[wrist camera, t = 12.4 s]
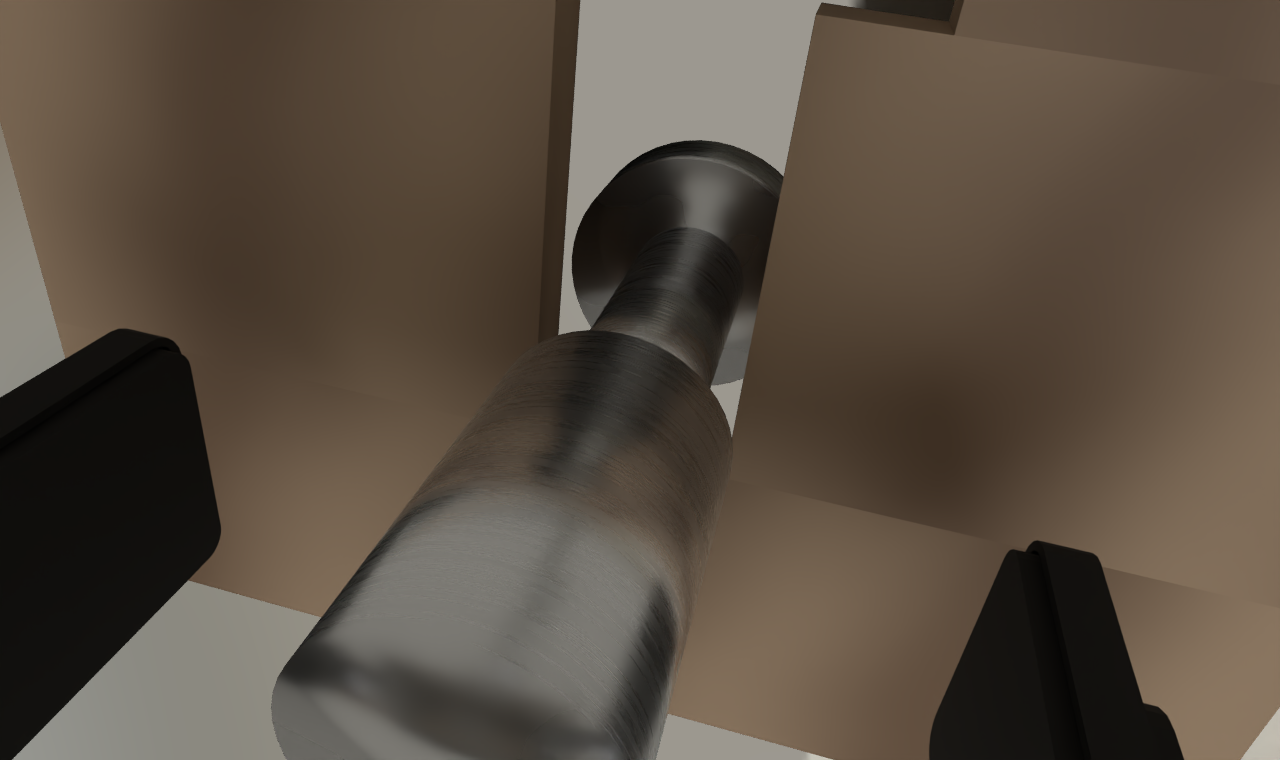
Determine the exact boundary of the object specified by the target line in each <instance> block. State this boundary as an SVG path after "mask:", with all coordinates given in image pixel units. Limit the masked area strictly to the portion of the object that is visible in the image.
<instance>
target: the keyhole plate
mask: <svg viewBox="0 0 1280 760" xmlns="http://www.w3.org/2000/svg"><path fill="white" fill-rule="evenodd" d="M579 10H580V0H0V122H1V126H2V130H3V133H4V137H5V141H6V144H7V148H8V152H9V155H10V159H11V163H12V166H13V170H14V173H15V177H16V180H17V184H18V188H19V192H20V195H21V199H22V202H23V206H24V210H25V213H26V217H27V221H28V224H29V228H30V231H31V235H32V238H33V242H34V246H35V250H36V253H37V257H38V260H39V264H40V268H41V271H42V275H43V278H44V282H45V286H46V289H47V293H48V297H49V300H50V304H51V307H52V311H53V315H54V319H55V322H56V326H57V329H58V333H59V337H60V340H61V343H62V348H63V351H64V354H65V358H67V357H69V356H71V355H72V354H74V353H76V352H77V351H79V350H81V349H82V348H84V347H86V346H87V345H89V344H91V343H92V342H94V341H96V340H97V339H99V338H101V337H102V336H104V335H106V334H107V333H109V332H111V331H114V330H116V329H119V328H127V329H132V330H136V331H140V332H145V333H149V334H153V335H157V336H162V337H166V338H169V339H171V340H173V341H174V342H175V343H176V344H177V345H178V347H179V348H180V351H181V354H182V355H184V356H185V357H186V358H187V359H188V360H189V363H190V366H191V370H192V376H193V381H194V386H195V391H196V397H197V402H198V407H199V412H200V418H201V423H202V428H203V434H204V439H205V444H206V449H207V455H208V460H209V465H210V470H211V476H212V481H213V486H214V491H215V497H216V502H217V507H218V513H219V518H220V523H221V536H220V540H219V543H218V546H217V548H216V550H215V552H214V553H213V555H212V556H211V557H210V558H209V559H208V560H207V561H206V562H205V563H204V564H203V565H202V566H201V568H200V569H199V570H198V571H197V572H196V573H195V574H194V575H193V576H192V577H191V578H190V579H189V581H193V582H196V583H200V584H204V585H207V586H211V587H215V588H218V589H222V590H225V591H229V592H232V593H236V594H240V595H243V596H246V597H250V598H254V599H257V600H261V601H265V602H268V603H272V604H275V605H279V606H283V607H287V608H290V609H293V610H297V611H301V612H304V613H308V614H312V615H315V616H319V617H322V616H323V615H324V613H325V612H326V611H327V609H328V608H329V607H330V606H331V604H332V603H333V602H334V600H335V599H336V598H337V596H338V595H339V594H340V592H341V591H342V590H343V588H344V587H345V586H346V584H347V583H348V582H349V580H350V579H351V578H352V576H353V575H354V574H355V572H356V571H357V570H358V568H359V567H360V566H361V564H362V563H363V562H364V561H365V559H366V558H367V557H368V555H369V554H370V553H371V551H372V550H373V549H374V547H375V546H376V545H377V543H378V542H379V541H380V539H381V538H382V537H383V535H384V534H385V533H386V531H387V530H388V529H389V527H390V526H391V525H392V523H393V522H394V521H395V519H396V518H397V517H398V515H399V514H400V513H401V512H402V510H403V509H404V508H405V506H406V505H407V504H408V502H409V501H410V500H411V498H412V497H413V496H414V494H415V493H416V492H417V490H418V489H419V488H420V486H421V485H422V484H423V482H424V481H425V480H426V478H427V477H428V476H429V474H430V473H431V472H432V470H433V469H434V468H435V466H436V465H437V464H438V463H439V461H440V460H441V459H442V457H443V456H444V455H445V453H446V452H447V451H448V449H449V448H450V447H451V445H452V444H453V443H454V441H455V440H456V439H457V437H458V436H459V435H460V433H461V432H462V431H463V429H464V428H465V427H466V425H467V424H468V423H469V421H470V420H471V419H472V418H473V416H474V415H475V414H476V412H477V411H478V410H479V408H480V407H481V406H482V404H483V403H484V402H485V400H486V399H487V398H488V396H489V395H490V394H491V392H492V391H493V390H494V388H495V387H496V386H497V384H498V383H499V382H500V380H501V379H502V378H503V376H504V375H505V374H506V372H507V371H508V370H509V369H510V367H511V366H512V365H513V364H514V363H515V362H516V360H517V359H518V358H519V357H520V356H521V355H523V354H524V353H525V352H526V351H528V350H529V349H530V348H532V347H533V346H535V345H537V344H539V343H541V342H542V341H544V340H547V339H549V338H552V337H555V336H557V335H558V331H559V316H560V301H561V285H562V269H563V255H564V240H565V224H566V209H567V193H568V177H569V162H570V148H571V133H572V116H573V102H574V87H575V70H576V56H577V41H578V25H579ZM732 444H733V460H732V468H731V473H730V476H729V480H728V484H727V488H726V492H725V496H724V499H723V503H722V507H721V511H720V515H719V519H718V522H717V526H716V530H715V534H714V538H713V542H712V545H711V549H710V553H709V557H708V561H707V565H706V568H705V572H704V576H703V580H702V584H701V588H700V591H699V595H698V599H697V603H696V607H695V611H694V614H693V618H692V622H691V626H690V630H689V634H688V637H687V641H686V645H685V649H684V653H683V657H682V660H681V664H680V668H679V672H678V676H677V680H676V683H675V687H674V691H673V695H672V699H671V703H670V706H669V710H668V714H671V715H675V716H679V717H682V718H686V719H689V720H693V721H697V722H701V723H704V724H707V725H711V726H715V727H718V728H722V729H726V730H729V731H733V732H736V733H740V734H743V735H747V736H751V737H754V738H758V739H762V740H765V741H769V742H772V743H776V744H779V745H783V746H787V747H790V748H794V749H797V750H801V751H805V752H808V753H812V754H815V755H819V756H823V757H826V758H830V759H833V760H929V743H930V734H931V729H932V725H933V721H934V718H935V715H936V713H937V711H938V708H939V706H940V704H941V702H942V699H943V697H944V695H945V692H946V690H947V688H948V686H949V683H950V681H951V679H952V676H953V674H954V672H955V670H956V667H957V665H958V663H959V660H960V658H961V656H962V653H963V651H964V649H965V647H966V644H967V642H968V640H969V637H970V635H971V633H972V631H973V628H974V626H975V624H976V621H977V619H978V617H979V615H980V612H981V610H982V608H983V605H984V603H985V601H986V599H987V596H988V594H989V592H990V589H991V587H992V585H993V582H994V580H995V578H996V576H997V573H998V571H999V569H1000V566H1001V564H1002V562H1003V560H1004V558H1005V556H1006V554H1007V553H1008V552H1009V550H1012V549H1015V550H1019V551H1023V552H1025V551H1026V550H1027V548H1028V546H1029V545H1030V544H1031V543H1032V542H1033V541H1036V540H1039V541H1043V542H1048V543H1052V544H1056V545H1061V546H1065V547H1069V548H1074V549H1078V550H1082V551H1086V552H1091V553H1094V554H1095V555H1096V556H1098V558H1099V561H1100V563H1101V565H1102V569H1103V572H1104V575H1105V579H1106V582H1107V585H1108V588H1109V592H1110V595H1111V598H1112V602H1113V605H1114V608H1115V611H1116V615H1117V618H1118V621H1119V625H1120V628H1121V631H1122V634H1123V638H1124V641H1125V644H1126V648H1127V651H1128V654H1129V658H1130V661H1131V664H1132V667H1133V671H1134V674H1135V677H1136V681H1137V684H1138V687H1139V690H1140V694H1141V697H1142V700H1143V703H1146V704H1150V705H1154V706H1158V707H1159V708H1160V709H1161V710H1162V711H1163V712H1164V713H1165V714H1166V715H1167V716H1168V718H1169V720H1170V722H1171V724H1172V726H1173V728H1174V730H1175V733H1176V736H1177V739H1178V742H1179V745H1180V748H1181V751H1182V754H1183V757H1184V760H1240V759H1241V758H1242V757H1243V755H1244V754H1245V753H1246V751H1247V750H1248V749H1249V747H1250V746H1251V745H1252V743H1253V742H1254V741H1255V739H1256V738H1257V737H1258V735H1259V734H1260V733H1261V731H1262V730H1263V729H1264V727H1265V726H1266V725H1267V723H1268V722H1269V721H1270V719H1271V718H1272V717H1273V715H1274V714H1275V713H1276V711H1277V710H1278V709H1279V707H1280V0H955V2H954V5H953V9H952V13H951V16H950V20H949V22H948V21H941V20H934V19H928V18H921V17H914V16H908V15H901V14H894V13H887V12H881V11H874V10H867V9H861V8H854V7H847V6H841V5H834V4H827V3H821V5H820V7H819V9H818V11H817V13H816V16H815V21H814V26H813V32H812V36H811V41H810V46H809V52H808V56H807V61H806V66H805V72H804V77H803V82H802V87H801V92H800V97H799V102H798V107H797V112H796V117H795V122H794V128H793V132H792V137H791V142H790V147H789V152H788V157H787V163H786V168H785V173H784V178H783V183H782V188H781V193H780V198H779V203H778V208H777V213H776V218H775V223H774V228H773V233H772V238H771V243H770V248H769V253H768V258H767V263H766V268H765V274H764V279H763V284H762V289H761V294H760V299H759V304H758V309H757V314H756V319H755V324H754V329H753V334H752V339H751V344H750V349H749V354H748V359H747V364H746V369H745V375H744V380H743V385H742V390H741V395H740V400H739V405H738V411H737V415H736V420H735V425H734V430H733V435H732Z"/></svg>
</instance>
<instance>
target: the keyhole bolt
mask: <svg viewBox="0 0 1280 760" xmlns="http://www.w3.org/2000/svg"><path fill="white" fill-rule="evenodd" d="M783 178H784V177H783V176H782V175H781V174H780V173H779V172H778V171H777V170H776V169H775V168H773V167H772V166H771V165H769V164H768V163H767V162H765V161H764V160H763V159H761V158H759V157H757V156H755V155H753V154H752V153H750V152H748V151H745V150H742V149H740V148H737V147H735V146H731V145H728V144H723V143H719V142H712V141H702V140H697V141H682V142H675V143H670V144H667V145H663V146H660V147H657V148H655V149H652V150H650V151H648V152H646V153H644V154H642V155H640V156H639V157H637V158H636V159H634V160H633V161H631V162H630V163H629V164H627V165H626V166H625V167H624V168H623V169H622V170H620V171H619V172H618V174H617V175H616V176H615V177H614V178H613V179H612V180H611V182H610V183H609V184H608V185H607V186H606V187H605V188H604V189H603V190H602V192H601V193H600V194H599V195H598V196H597V197H596V199H595V200H594V201H593V202H592V203H591V205H590V207H589V208H588V210H587V211H586V213H585V214H584V216H583V218H582V221H581V223H580V225H579V227H578V230H577V234H576V237H575V241H574V246H573V254H572V275H573V283H574V287H575V291H576V295H577V299H578V302H579V304H580V307H581V309H582V311H583V314H584V315H585V317H586V319H587V321H588V322H589V324H590V326H591V327H592V328H591V329H590V330H587V331H576V332H570V333H566V334H561V335H557V336H555V337H552V338H549V339H547V340H544V341H542V342H541V343H539V344H537V345H535V346H533V347H532V348H530V349H529V350H528V351H526V352H525V353H524V354H523V355H521V356H520V357H519V358H518V359H517V360H516V362H515V363H514V364H513V365H512V366H511V367H510V369H509V370H508V371H507V372H506V374H505V375H504V376H503V378H502V379H501V380H500V382H499V383H498V384H497V386H496V387H495V388H494V390H493V391H492V392H491V394H490V395H489V396H488V398H487V399H486V400H485V402H484V403H483V404H482V406H481V407H480V408H479V410H478V411H477V412H476V414H475V415H474V416H473V418H472V419H471V420H470V421H469V423H468V424H467V425H466V427H465V428H464V429H463V431H462V432H461V433H460V435H459V436H458V437H457V439H456V440H455V441H454V443H453V444H452V445H451V447H450V448H449V449H448V451H447V452H446V453H445V455H444V456H443V457H442V459H441V460H440V461H439V463H438V464H437V465H436V466H435V468H434V469H433V470H432V472H431V473H430V474H429V476H428V477H427V478H426V480H425V481H424V482H423V484H422V485H421V486H420V488H419V489H418V490H417V492H416V493H415V494H414V496H413V497H412V498H411V500H410V501H409V502H408V504H407V505H406V506H405V508H404V509H403V510H402V512H401V513H400V514H399V515H398V517H397V518H396V519H395V521H394V522H393V523H392V525H391V526H390V527H389V529H388V530H387V531H386V533H385V534H384V535H383V537H382V538H381V539H380V541H379V542H378V543H377V545H376V546H375V547H374V549H373V550H372V551H371V553H370V554H369V555H368V557H367V558H366V559H365V561H364V562H363V563H362V564H361V566H360V567H359V568H358V570H357V571H356V572H355V574H354V575H353V576H352V578H351V579H350V580H349V582H348V583H347V584H346V586H345V587H344V588H343V590H342V591H341V592H340V594H339V595H338V596H337V598H336V599H335V600H334V602H333V603H332V604H331V606H330V607H329V608H328V609H327V611H326V612H325V613H324V615H323V616H322V617H321V619H320V620H319V621H318V623H317V624H316V625H315V627H314V628H313V629H312V631H311V632H310V633H309V635H308V636H307V637H306V639H305V640H304V641H303V643H302V644H301V645H300V647H299V648H298V649H297V651H296V652H295V653H294V655H293V656H292V657H291V659H290V660H289V661H288V662H287V664H286V665H285V667H284V668H283V670H282V672H281V673H280V675H279V676H278V678H277V681H276V684H275V687H274V690H273V695H272V706H271V709H272V721H273V725H274V729H275V733H276V737H277V740H278V742H279V744H280V747H281V749H282V752H283V754H284V756H285V757H286V759H287V760H656V756H657V752H658V748H659V745H660V741H661V737H662V733H663V729H664V725H665V722H666V718H667V714H668V710H669V706H670V703H671V699H672V695H673V691H674V687H675V683H676V680H677V676H678V672H679V668H680V664H681V660H682V657H683V653H684V649H685V645H686V641H687V637H688V634H689V630H690V626H691V622H692V618H693V614H694V611H695V607H696V603H697V599H698V595H699V591H700V588H701V584H702V580H703V576H704V572H705V568H706V565H707V561H708V557H709V553H710V549H711V545H712V542H713V538H714V534H715V530H716V526H717V522H718V519H719V515H720V511H721V507H722V503H723V499H724V496H725V492H726V488H727V484H728V480H729V476H730V473H731V468H732V460H733V444H732V437H731V432H730V427H729V425H728V421H727V419H726V416H725V413H724V411H723V409H722V407H721V405H720V403H719V401H718V400H717V398H716V397H715V395H714V394H713V392H712V391H711V389H710V387H711V385H719V384H724V383H730V382H733V381H736V380H740V379H742V378H744V375H745V369H746V364H747V359H748V354H749V349H750V344H751V339H752V334H753V329H754V324H755V319H756V314H757V309H758V304H759V299H760V294H761V289H762V284H763V279H764V274H765V268H766V263H767V258H768V253H769V248H770V243H771V238H772V233H773V228H774V223H775V218H776V213H777V208H778V203H779V198H780V193H781V188H782V183H783Z"/></svg>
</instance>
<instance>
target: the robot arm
mask: <svg viewBox="0 0 1280 760" xmlns="http://www.w3.org/2000/svg"><path fill="white" fill-rule="evenodd" d="M220 536H221V523H220V518H219V513H218V507H217V502H216V497H215V491H214V486H213V481H212V476H211V470H210V465H209V460H208V455H207V449H206V444H205V439H204V434H203V428H202V423H201V418H200V412H199V407H198V402H197V397H196V391H195V386H194V381H193V376H192V370H191V366H190V363H189V360H188V359H187V358H186V357H185V356H184V355H182V354H181V351H180V348H179V347H178V345H177V344H176V343H175V342H174V341H173V340H171V339H169V338H166V337H162V336H157V335H153V334H149V333H145V332H140V331H136V330H132V329H127V328H119V329H116V330H114V331H111V332H109V333H107V334H106V335H104V336H102V337H101V338H99V339H97V340H96V341H94V342H92V343H91V344H89V345H87V346H86V347H84V348H82V349H81V350H79V351H77V352H76V353H74V354H72V355H71V356H69V357H67V358H66V359H64V360H62V361H61V362H59V363H57V364H56V365H54V366H52V367H51V368H49V369H47V370H46V371H44V372H42V373H41V374H39V375H37V376H36V377H34V378H32V379H31V380H29V381H27V382H26V383H24V384H22V385H21V386H19V387H17V388H16V389H14V390H12V391H11V392H9V393H7V394H5V395H4V396H3V397H0V760H12V759H13V758H14V757H15V756H16V755H17V754H18V753H19V752H20V751H21V750H22V749H23V748H24V747H25V746H26V745H27V744H28V743H29V742H30V741H31V740H32V739H33V738H34V737H35V736H36V735H37V734H38V733H39V732H40V730H42V729H43V727H44V726H45V725H46V724H47V723H48V722H49V721H50V720H51V719H52V718H53V717H54V716H55V715H56V714H57V713H58V712H59V711H60V710H61V709H62V708H63V707H64V706H65V705H66V704H67V703H68V702H69V701H70V700H71V699H72V698H73V697H74V696H75V695H76V694H77V693H78V692H79V691H80V690H81V689H82V688H83V687H84V686H85V685H86V684H87V683H88V682H89V680H91V678H92V677H94V675H95V674H96V673H97V672H98V671H99V670H100V669H101V668H102V667H103V666H104V665H105V664H106V663H107V662H108V661H109V660H110V659H111V658H112V657H113V656H114V655H115V654H116V653H117V652H118V651H119V650H120V649H121V648H122V647H123V646H124V645H125V644H126V643H127V642H128V641H129V640H130V639H131V638H132V637H133V636H134V635H135V634H136V633H137V632H138V630H140V629H141V628H142V626H144V625H145V623H146V622H147V621H148V620H149V619H150V618H151V617H152V616H153V615H154V614H155V613H156V612H157V611H158V610H159V609H160V608H161V607H162V606H163V605H164V604H165V603H166V602H167V601H168V600H169V599H170V598H171V597H172V596H173V595H174V594H175V593H176V592H177V591H178V590H179V589H180V588H181V587H182V586H183V585H184V584H185V583H186V582H187V581H188V580H189V579H190V578H191V577H192V576H193V575H194V574H195V573H196V572H197V571H198V570H199V569H200V568H201V566H202V565H203V564H204V563H205V562H206V561H207V560H208V559H209V558H210V557H211V556H212V555H213V553H214V552H215V550H216V548H217V546H218V543H219V540H220ZM929 760H1184V757H1183V754H1182V751H1181V748H1180V745H1179V742H1178V739H1177V736H1176V733H1175V730H1174V728H1173V726H1172V724H1171V722H1170V720H1169V718H1168V716H1167V715H1166V714H1165V713H1164V712H1163V711H1162V710H1161V709H1160V708H1159V707H1158V706H1154V705H1150V704H1146V703H1143V700H1142V697H1141V694H1140V690H1139V687H1138V684H1137V681H1136V677H1135V674H1134V671H1133V667H1132V664H1131V661H1130V658H1129V654H1128V651H1127V648H1126V644H1125V641H1124V638H1123V634H1122V631H1121V628H1120V625H1119V621H1118V618H1117V615H1116V611H1115V608H1114V605H1113V602H1112V598H1111V595H1110V592H1109V588H1108V585H1107V582H1106V579H1105V575H1104V572H1103V569H1102V565H1101V563H1100V561H1099V558H1098V556H1096V555H1095V554H1094V553H1091V552H1086V551H1082V550H1078V549H1074V548H1069V547H1065V546H1061V545H1056V544H1052V543H1048V542H1043V541H1039V540H1036V541H1033V542H1032V543H1031V544H1030V545H1029V546H1028V548H1027V550H1026V551H1025V552H1023V551H1019V550H1015V549H1012V550H1009V552H1008V553H1007V554H1006V556H1005V558H1004V560H1003V562H1002V564H1001V566H1000V569H999V571H998V573H997V576H996V578H995V580H994V582H993V585H992V587H991V589H990V592H989V594H988V596H987V599H986V601H985V603H984V605H983V608H982V610H981V612H980V615H979V617H978V619H977V621H976V624H975V626H974V628H973V631H972V633H971V635H970V637H969V640H968V642H967V644H966V647H965V649H964V651H963V653H962V656H961V658H960V660H959V663H958V665H957V667H956V670H955V672H954V674H953V676H952V679H951V681H950V683H949V686H948V688H947V690H946V692H945V695H944V697H943V699H942V702H941V704H940V706H939V708H938V711H937V713H936V715H935V718H934V721H933V725H932V729H931V734H930V743H929Z"/></svg>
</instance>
